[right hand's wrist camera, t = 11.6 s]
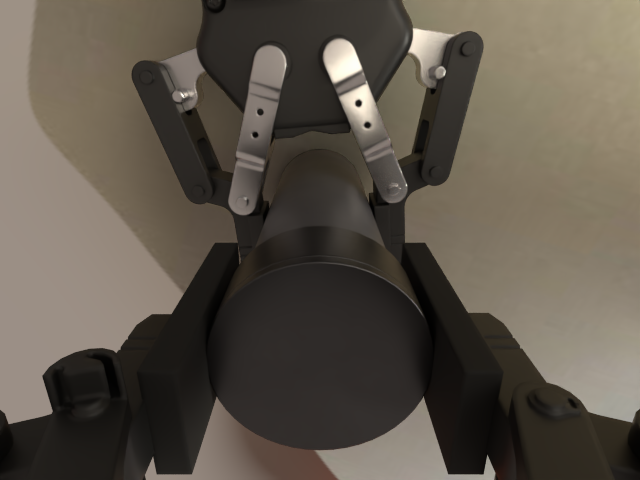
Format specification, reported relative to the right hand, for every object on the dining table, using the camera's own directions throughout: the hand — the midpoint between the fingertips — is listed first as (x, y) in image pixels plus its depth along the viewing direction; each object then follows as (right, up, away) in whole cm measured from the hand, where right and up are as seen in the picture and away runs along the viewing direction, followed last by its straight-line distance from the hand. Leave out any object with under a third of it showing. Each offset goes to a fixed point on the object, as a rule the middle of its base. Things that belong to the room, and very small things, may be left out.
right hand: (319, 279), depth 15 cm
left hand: (0, 0, +6) cm, 6 cm away
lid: (0, -2, -4) cm, 4 cm away
